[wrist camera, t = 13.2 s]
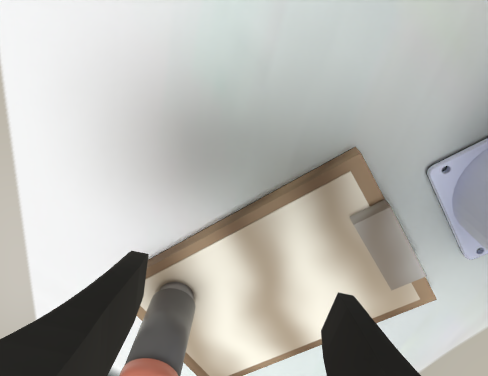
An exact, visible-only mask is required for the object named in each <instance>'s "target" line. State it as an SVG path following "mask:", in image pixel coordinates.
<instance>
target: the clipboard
mask: <svg viewBox="0 0 488 376" xmlns="http://www.w3.org/2000/svg"><path fill="white" fill-rule="evenodd" d="M425 277H426V274H425V272H424V270H423V268H422V266H421V264H420V262H419V260H418V258H417V256H416V254H415V252H414V251H413V249H412V247H411V245H410V243H409V241H408V239H407V237H406V235H405V233H404V231H403V229H402V227H401V225H400V223H399V221H398V219H397V218H396V216H395V214H394V212H393V210H392V208H391V206H390V205H389V204H388V202H387V201H386V200H385V198H384V197H383V195H382V193H381V191H380V189H379V187H378V185H377V183H376V181H375V179H374V177H373V175H372V173H371V171H370V170H369V168H368V166H367V164H366V162H365V160H364V158H363V156H362V154H361V153H360V151H359V150H358V149H357V148H356V147H354V148H352V149H350V150H349V151H347V152H345V153H343V154H341V155H340V156H338V157H336V158H334V159H332V160H330V161H329V162H327V163H325V164H323V165H321V166H319V167H318V168H316V169H314V170H312V171H310V172H308V173H307V174H305V175H303V176H301V177H299V178H297V179H296V180H294V181H292V182H290V183H288V184H286V185H285V186H283V187H281V188H279V189H277V190H275V191H274V192H272V193H270V194H268V195H266V196H264V197H263V198H261V199H259V200H257V201H255V202H253V203H252V204H250V205H248V206H246V207H244V208H243V209H241V210H239V211H237V212H235V213H233V214H232V215H230V216H228V217H226V218H224V219H222V220H221V221H219V222H217V223H215V224H213V225H211V226H210V227H208V228H206V229H204V230H202V231H200V232H199V233H197V234H195V235H193V236H191V237H189V238H188V239H186V240H184V241H182V242H180V243H178V244H177V245H175V246H173V247H171V248H169V249H167V250H166V251H164V252H162V253H160V254H158V255H156V256H155V257H153V258H151V259H149V260H148V263H147V271H146V280H145V288H144V296H143V299H142V302H141V305H140V308H139V310H138V313H137V316H138V317H139V318H140V319H141V320H142V321H143V319H144V316H145V314H146V311H147V309H148V306H149V304H150V301H151V299H152V297H153V295H154V294H155V293H156V292H158V291H159V290H160V288H161V287H162V286H163V285H164V284H166V283H169V282H180V283H183V284H185V285H187V286H188V287H189V288H190V289H191V290H192V292H193V294H194V302H195V306H196V309H195V314H194V318H193V322H192V327H191V331H190V335H189V340H188V344H187V349H186V353H185V357H184V363H185V364H186V365H187V366H188V367H189V368H190V369H191V370H192V371H193V372H194V373H195V374H196V375H197V376H243V375H246V374H248V373H251V372H253V371H256V370H258V369H261V368H263V367H266V366H268V365H271V364H274V363H276V362H279V361H281V360H284V359H286V358H289V357H291V356H294V355H296V354H299V353H302V352H304V351H307V350H309V349H312V348H314V347H317V346H319V345H322V338H321V330H322V327H323V325H324V323H325V321H326V318H327V316H328V314H329V312H330V309H331V307H332V305H333V303H334V300H335V298H336V296H337V294H338V292H339V293H343V294H348V295H353V296H354V297H355V298H356V299H357V300H358V301H359V303H360V304H361V305H362V306H363V308H364V309H365V310H366V311H367V313H368V314H369V315H370V316H371V318H372V319H373V320H374V322H375V323H378V322H380V321H383V320H386V319H388V318H391V317H393V316H396V315H398V314H401V313H403V312H406V311H408V310H411V309H413V308H416V307H419V306H421V305H424V304H426V303H429V302H431V301H434V300H436V297H435V295H434V293H433V291H432V289H431V287H430V285H429V283H428V281H427V279H426V278H425Z"/></svg>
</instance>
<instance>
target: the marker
mask: <svg viewBox="0 0 488 376" xmlns="http://www.w3.org/2000/svg"><path fill="white" fill-rule="evenodd" d="M195 309H196V306H195V302H194V294H193V292H192V290H191V289H190V288H189V287H188V286H187V285H185V284H183V283H180V282H169V283H166V284H164V285H163V286H162V287H161V288H160V290H159V291H158V292H156V293H155V294H154V295H153V297H152V299H151V301H150V304H149V306H148V309H147V311H146V314H145V316H144V319H143V321H142V324H141V326H140V329H139V331H138V334H137V336H136V338H135V341H134V343H133V346H132V348H131V351H130V353H129V356H128V358H127V361H126V363H125V366H124V367H123V369H122V371H121V373H120V376H180V375H181V370H182V366H183V362H184V357H185V353H186V349H187V344H188V340H189V335H190V331H191V327H192V322H193V318H194V314H195Z"/></svg>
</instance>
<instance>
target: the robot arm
mask: <svg viewBox="0 0 488 376" xmlns="http://www.w3.org/2000/svg"><path fill="white" fill-rule="evenodd" d="M445 166H447V169H446V170H445V171H442V169H443V167H445ZM427 175H428V178H429V180H430V182H431V184H432V187H433V189H434V191H435V193H436V195H437V198H438V200H439V202H440V204H441V207H442V209H443V211H444V213H445V216H446V218H447V220H448V222H449V225H450V227H451V229H452V231H453V233H454V236H455V238H456V240H457V242H458V245H459V247H460V249H461V251H462V254H463V255H464V256H465V257H466V258H467V259H475V258H478V257H480V256H482V255H485V254H487V253H488V138H487V139H485V140H483V141H481V142H479V143H477V144H475V145H473V146H471V147H469V148H466V149H464V150H462V151H460V152H458V153H456V154H454V155H452V156H450V157H448V158H446V159H444V160H442V161H440V162H438V163H436V164H434V165H432V166H431V167H430V168H429V169H428V172H427ZM479 248H480V249H479ZM477 249H479V250H477ZM148 255H149V254H145V253H140V252H135V251H131V252H129V253H128V254H127V255H126V256H125V257H123V258H122V259H121V260H120V261H119V262H118V263H116V264H115V265H114V266H113V267H112V268H111V269H109V270H108V271H107V272H106V273H104V274H103V275H102V276H101V277H99V278H98V279H97V280H95V281H94V282H93V283H92V284H90V285H89V286H88V287H86V288H85V289H84V290H82V291H81V292H79V293H78V294H76V295H75V296H74V297H72V298H71V299H69V300H68V301H66V302H65V303H63V304H62V305H60V306H59V307H57V308H56V309H54V310H52V311H51V312H49V313H48V314H46V315H44V316H42V317H41V318H39V319H37V320H36V321H34V322H32V323H30V324H28V325H27V326H25V327H23V328H21V329H19V330H17V331H16V332H14V333H12V334H10V335H8V336H6V337H4V338H2V339H0V376H107V375H108V373H109V371H110V369H111V367H112V365H113V363H114V361H115V359H116V357H117V355H118V353H119V351H120V349H121V347H122V345H123V343H124V341H125V339H126V337H127V335H128V333H129V331H130V329H131V327H132V325H133V323H134V321H135V318H136V316H137V313H138V310H139V308H140V305H141V302H142V299H143V296H144V288H145V280H146V271H147V263H148ZM321 338H322V350H323V359H324V364H325V368H326V373H327V376H421V375H420V374H419V373H418V372H417V371H416V370H415V369H414V368H413V367H412V366H411V364H410V363H409V362H408V361H407V360H406V359H405V358H404V357H403V356H402V354H401V353H400V352H399V351H398V350H397V349H396V347H395V346H394V345H393V344H392V343H391V341H390V340H389V339H388V338H387V337H386V335H385V334H384V333H383V332H382V330H381V329H380V328H379V327H378V325H377V324H376V323H375V322H374V320H373V319H372V318H371V316H370V315H369V314H368V313H367V311H366V310H365V309H364V308H363V306H362V305H361V304H360V303H359V301H358V300H357V299H356V298H355V297H354V296H353V295H348V294H343V293H339V292H338V294H337V296H336V298H335V300H334V303H333V305H332V307H331V309H330V312H329V314H328V316H327V318H326V321H325V323H324V325H323V327H322V330H321Z"/></svg>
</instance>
